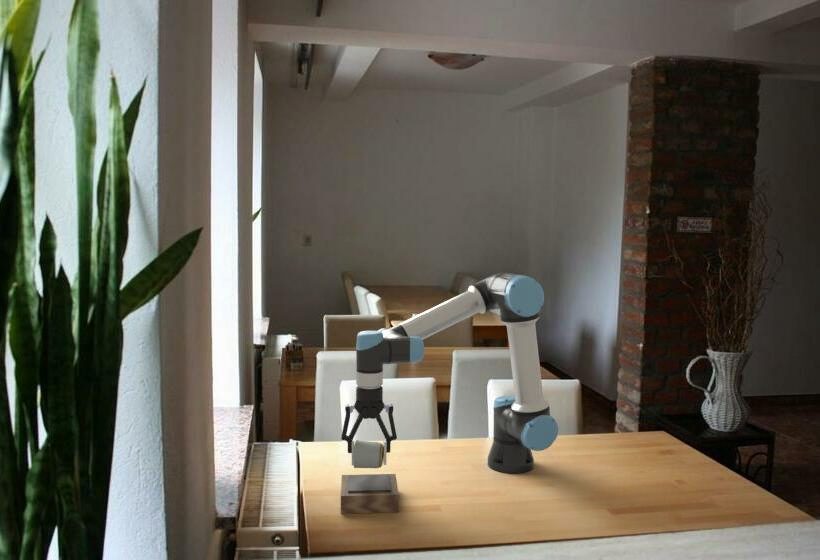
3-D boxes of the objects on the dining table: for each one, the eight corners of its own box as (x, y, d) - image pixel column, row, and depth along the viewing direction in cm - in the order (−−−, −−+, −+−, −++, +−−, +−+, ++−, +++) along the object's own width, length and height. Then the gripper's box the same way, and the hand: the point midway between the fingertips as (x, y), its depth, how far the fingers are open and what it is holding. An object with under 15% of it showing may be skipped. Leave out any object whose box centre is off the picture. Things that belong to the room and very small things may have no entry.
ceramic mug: (382, 472, 204) (382, 445, 203) (353, 471, 204) (352, 445, 204) (384, 459, 215) (384, 434, 214) (357, 459, 215) (356, 433, 214)
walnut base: (395, 490, 218) (395, 471, 218) (398, 512, 202) (398, 492, 202) (341, 491, 217) (341, 472, 216) (340, 513, 201) (340, 493, 201)
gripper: (405, 382, 211) (405, 458, 213) (332, 382, 209) (332, 459, 211) (407, 388, 203) (406, 467, 206) (331, 389, 202) (331, 468, 204)
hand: (368, 463), depth 209 cm, fingers closed on ceramic mug, 8 cm apart
